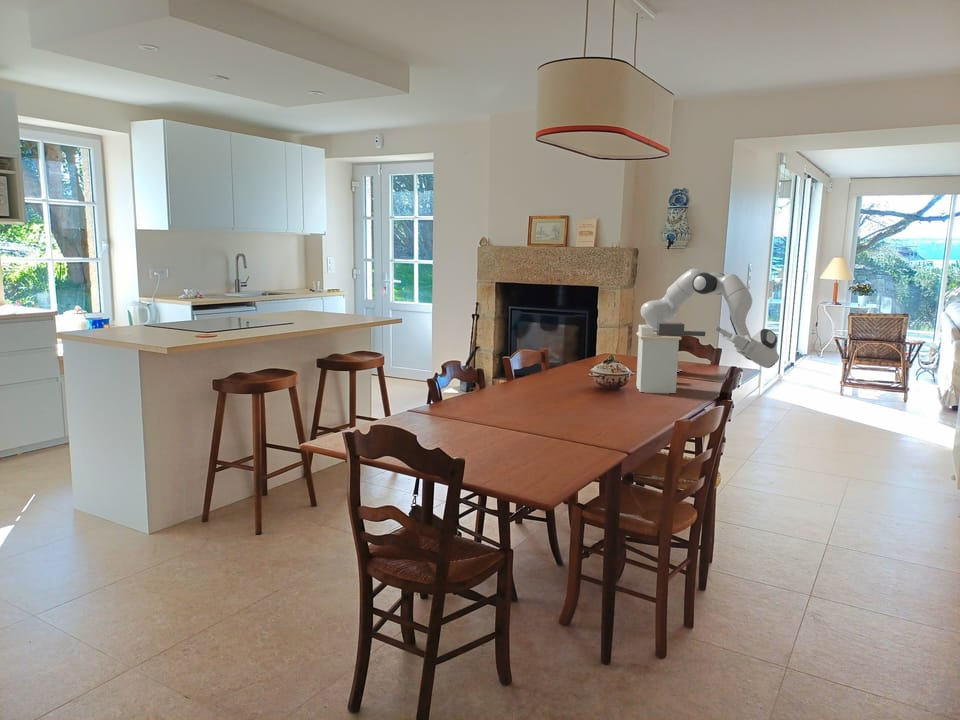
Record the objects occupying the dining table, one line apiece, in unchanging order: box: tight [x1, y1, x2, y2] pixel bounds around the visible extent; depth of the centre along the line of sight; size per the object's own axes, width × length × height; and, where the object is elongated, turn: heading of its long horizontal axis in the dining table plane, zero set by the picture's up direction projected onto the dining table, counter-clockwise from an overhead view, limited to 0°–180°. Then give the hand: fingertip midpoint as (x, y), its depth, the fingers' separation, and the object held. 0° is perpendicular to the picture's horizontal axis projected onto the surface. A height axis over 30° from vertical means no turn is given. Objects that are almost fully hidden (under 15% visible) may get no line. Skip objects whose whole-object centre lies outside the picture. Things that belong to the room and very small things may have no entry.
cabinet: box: [635, 331, 683, 394], centre depth 318 cm, size 18×18×26 cm
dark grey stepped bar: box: [653, 321, 706, 337], centre depth 315 cm, size 24×7×6 cm, turn 84°
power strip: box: [637, 323, 653, 336], centre depth 317 cm, size 5×12×4 cm, turn 174°
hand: (719, 329), depth 313 cm, fingers open, 8 cm apart
